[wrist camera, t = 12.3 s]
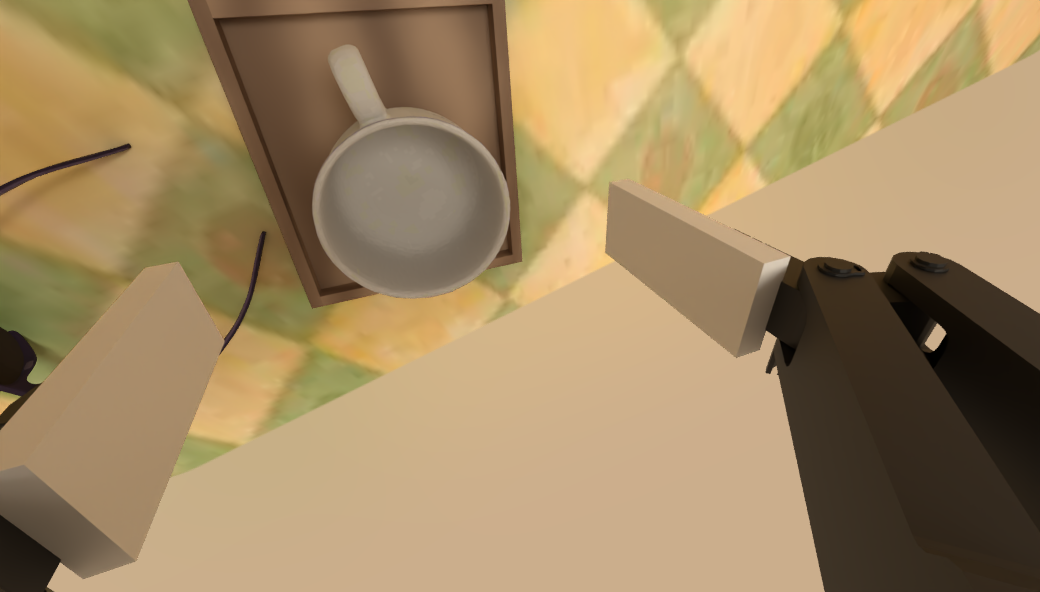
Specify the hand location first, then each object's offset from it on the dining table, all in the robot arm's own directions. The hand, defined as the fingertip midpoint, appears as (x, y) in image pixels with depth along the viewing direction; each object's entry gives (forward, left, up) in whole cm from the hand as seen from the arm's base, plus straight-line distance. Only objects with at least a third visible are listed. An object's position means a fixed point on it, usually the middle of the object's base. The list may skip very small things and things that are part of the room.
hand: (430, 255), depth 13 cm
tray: (0, -1, -19) cm, 19 cm away
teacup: (+1, -1, -18) cm, 18 cm away
